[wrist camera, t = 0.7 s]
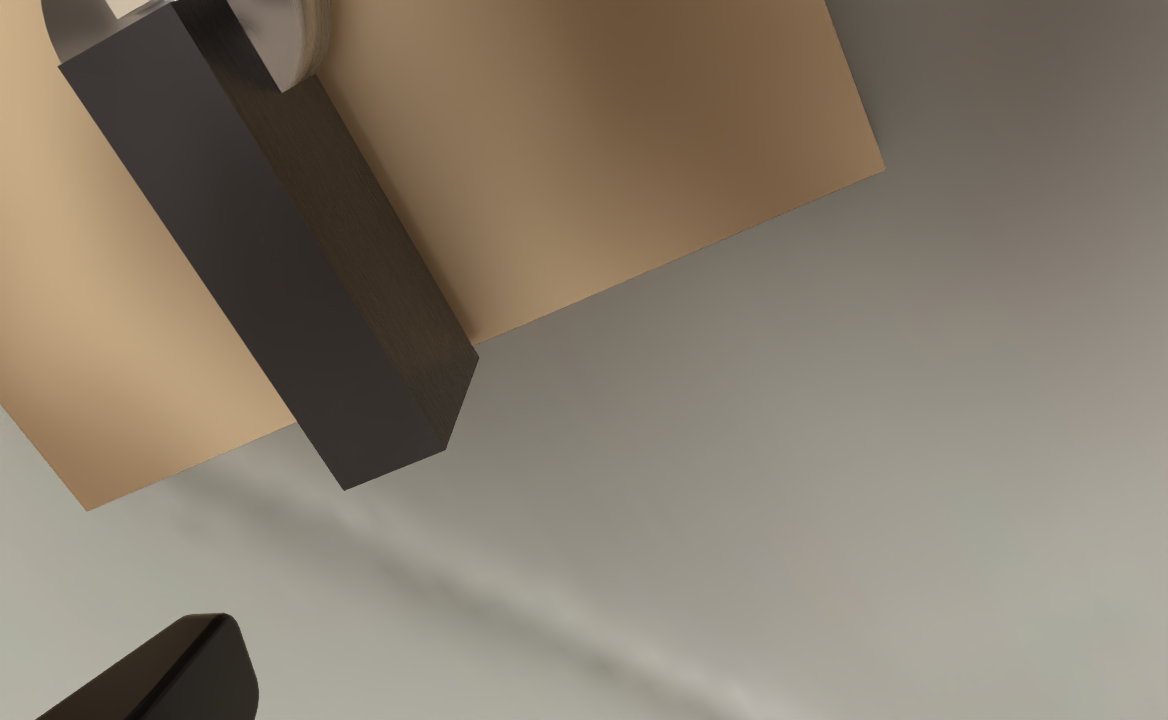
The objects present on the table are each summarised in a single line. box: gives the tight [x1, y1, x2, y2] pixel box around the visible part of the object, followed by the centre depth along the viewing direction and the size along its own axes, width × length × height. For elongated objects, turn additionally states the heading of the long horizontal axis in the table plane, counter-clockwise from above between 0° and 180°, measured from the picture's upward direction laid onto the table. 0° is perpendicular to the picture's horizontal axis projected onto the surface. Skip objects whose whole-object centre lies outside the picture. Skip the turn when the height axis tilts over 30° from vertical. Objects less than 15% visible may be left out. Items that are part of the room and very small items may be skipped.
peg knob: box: [41, 0, 479, 491], centre depth 14 cm, size 14×4×3 cm, turn 26°
